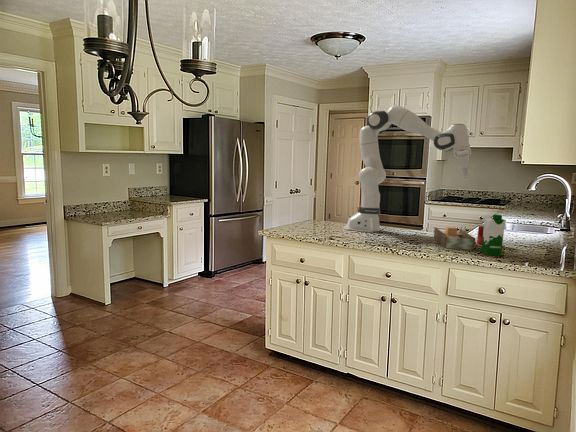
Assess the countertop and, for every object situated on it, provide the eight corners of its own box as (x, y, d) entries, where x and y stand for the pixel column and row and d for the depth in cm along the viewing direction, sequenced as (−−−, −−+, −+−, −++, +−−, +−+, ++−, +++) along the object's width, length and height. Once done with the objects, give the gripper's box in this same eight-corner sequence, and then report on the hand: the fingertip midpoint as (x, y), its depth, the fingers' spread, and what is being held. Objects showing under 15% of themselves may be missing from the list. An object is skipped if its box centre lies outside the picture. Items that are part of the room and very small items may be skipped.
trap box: (444, 247, 227) (445, 236, 226) (433, 237, 254) (434, 227, 253) (474, 249, 225) (475, 238, 224) (460, 239, 252) (461, 229, 251)
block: (447, 234, 242) (448, 227, 242) (445, 233, 247) (446, 226, 246) (456, 235, 242) (457, 228, 241) (454, 233, 246) (455, 226, 246)
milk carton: (486, 255, 213) (491, 215, 210) (477, 251, 222) (482, 212, 218) (503, 256, 213) (508, 216, 210) (494, 252, 222) (499, 213, 219)
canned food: (483, 246, 235) (485, 226, 234) (473, 243, 243) (475, 223, 241) (495, 246, 237) (497, 226, 236) (484, 242, 245) (487, 223, 243)
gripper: (456, 154, 250) (460, 178, 250) (456, 153, 231) (460, 178, 231) (468, 152, 247) (471, 176, 248) (468, 150, 228) (472, 176, 229)
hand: (466, 177), depth 239 cm, fingers open, 8 cm apart
